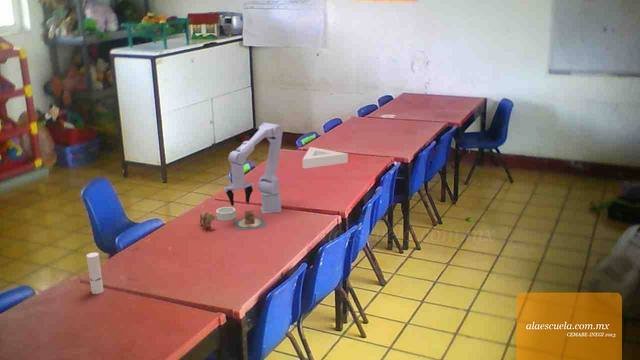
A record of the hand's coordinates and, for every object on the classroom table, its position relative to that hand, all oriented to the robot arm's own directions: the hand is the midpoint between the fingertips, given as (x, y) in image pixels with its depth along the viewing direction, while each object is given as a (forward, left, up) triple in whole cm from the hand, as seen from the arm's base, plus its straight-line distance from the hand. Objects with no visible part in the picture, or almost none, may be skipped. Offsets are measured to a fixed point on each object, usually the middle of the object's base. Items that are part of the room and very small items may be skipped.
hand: (239, 203), depth 308 cm
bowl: (+6, -8, -10) cm, 14 cm away
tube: (+61, +56, -10) cm, 83 cm away
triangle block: (-65, -88, -10) cm, 110 cm away
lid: (-4, +4, -9) cm, 11 cm away
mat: (-4, +4, -10) cm, 11 cm away
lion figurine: (+16, +2, -10) cm, 19 cm away
